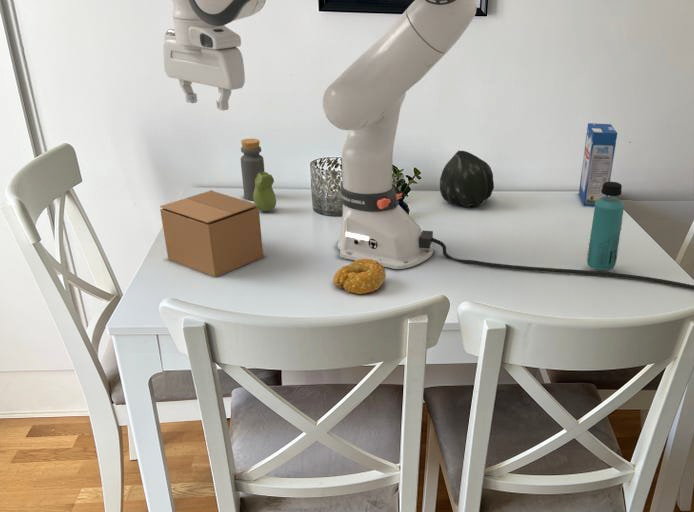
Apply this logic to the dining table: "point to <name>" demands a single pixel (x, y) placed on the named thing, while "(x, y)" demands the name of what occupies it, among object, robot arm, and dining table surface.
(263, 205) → the pear
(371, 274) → the bagel
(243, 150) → the bottle
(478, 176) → the squash
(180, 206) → the flap
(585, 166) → the milk carton
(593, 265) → the beverage bottle
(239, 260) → the carton
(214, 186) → the dining table surface
